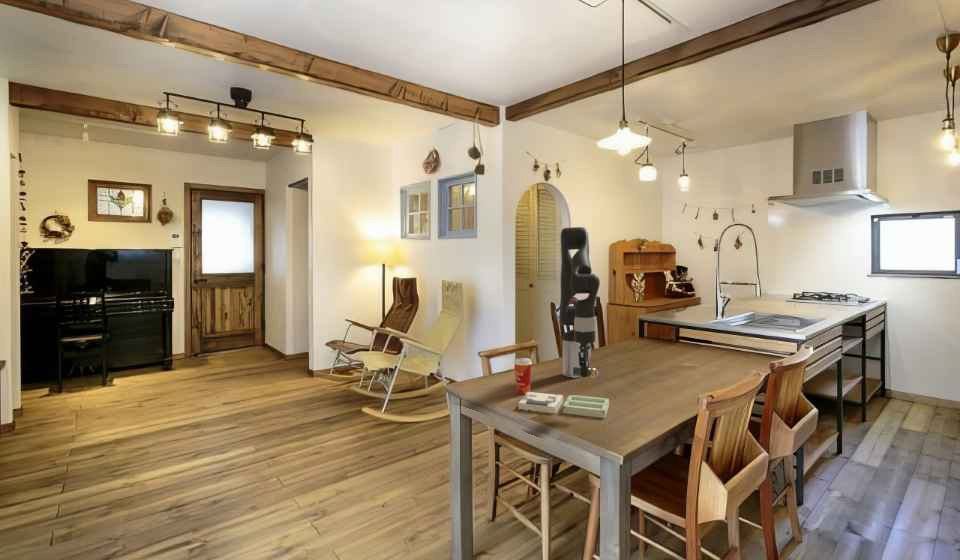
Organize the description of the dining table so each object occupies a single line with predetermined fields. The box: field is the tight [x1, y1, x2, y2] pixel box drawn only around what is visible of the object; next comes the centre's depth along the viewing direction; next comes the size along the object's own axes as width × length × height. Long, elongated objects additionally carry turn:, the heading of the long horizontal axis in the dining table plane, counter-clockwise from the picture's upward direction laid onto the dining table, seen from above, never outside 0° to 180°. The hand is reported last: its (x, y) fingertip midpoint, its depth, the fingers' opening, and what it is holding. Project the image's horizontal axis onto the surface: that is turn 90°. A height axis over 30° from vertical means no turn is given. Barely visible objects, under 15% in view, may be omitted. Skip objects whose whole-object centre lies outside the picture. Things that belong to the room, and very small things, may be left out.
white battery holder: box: [518, 391, 564, 414], centre depth 175 cm, size 14×14×4 cm
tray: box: [562, 394, 610, 419], centre depth 170 cm, size 14×15×3 cm
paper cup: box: [513, 357, 533, 395], centre depth 191 cm, size 8×8×14 cm
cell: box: [573, 367, 599, 379], centre depth 166 cm, size 3×9×3 cm, turn 68°
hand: (584, 375), depth 166 cm, fingers closed on cell, 3 cm apart
